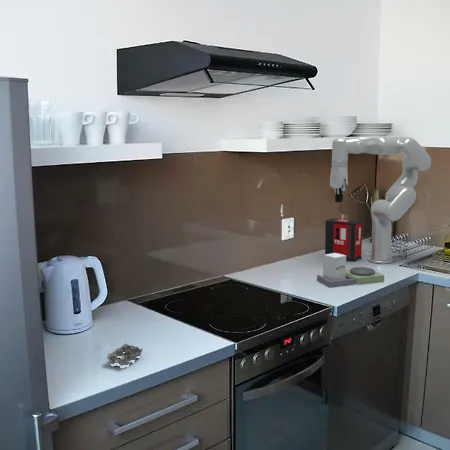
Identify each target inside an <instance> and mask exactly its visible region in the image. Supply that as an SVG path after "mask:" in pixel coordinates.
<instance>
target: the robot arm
mask: <svg viewBox="0 0 450 450" xmlns="http://www.w3.org/2000/svg"><path fill="white" fill-rule="evenodd" d="M331 147H332V148H331V169H330V177H329V186H330V187H331V188H332V189H333V190H334V202H335V203H342V202H343V199H344V198H343V197H344V195H343V194H344V192H346V191H347V188H348V183H349V179H348V176H349V175H348V163H349V161H348V160H349V154H352V155H353V154H354V155H359V154H363V153H364V154H370V155H403V157H402V162H401V163H402V164H401V165H402V173H401V174H400V176H399V177H398V179H397V180H396V181H395V182H394V183H393V184H392V185H391V187H390V188H388V190H387V192H386V198H387V199H388V200H386V199H378V200H375V201H374V202H373V204H371V208H370V215H371V223H372V225H371V227H372V229H371V256H368V258H367V260H368V262H371V263H374V264H392V263H394V257H399V252H393V251H391V250H392V249H391V248H392V231H393V230H392V227H393V226H392V222H396V221H398V220H400V219H401V217H403V216H404V215H405V214H406V212H407V211H408V210H409V209H410V208H411V207H412V205H413V204H414V202H415V201H416V198H417V192H416V190H415V189H414V187H415V186H416V185H417V183H418V178H419V177H418V176H419V172H418V171H420V172H421V171H422V172H424V171H427V170H429V169H430V167H431V165H432V159H431V156H430V155H429V153H428V152H427V151H426V150H425V148H423V147H422V145H421V144H420V143H419V142H418V141H417V140H416V139H414V138H412V137H405V136H403V137H402V136H394V137H393V136H375V137H345V138H334V139H333V140H332V145H331Z"/></svg>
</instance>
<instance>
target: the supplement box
mask: <svg viewBox="0 0 450 450" xmlns="http://www.w3.org/2000/svg"><path fill="white" fill-rule="evenodd" d="M322 262H323V263H322V277H324V278H326V279H328V280H330V281H336V280H345V276H346V270H347V269H346V268H347V261H346V255H342V254H338V253H331V254H326V255H325V254H323V260H322Z"/></svg>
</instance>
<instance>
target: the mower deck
mask: <svg viewBox="0 0 450 450" xmlns="http://www.w3.org/2000/svg"><path fill="white" fill-rule="evenodd" d="M316 281H318V282H319V283H321V284H323V285H324V286H327V287H328V288H338V287H345V286H353V285H354V284H359V285H366V284H367V283H368V284H376V283H384V282H385V275H384V274H382V273H380V272H377V271H376V270H375V269H373V268H371V267H365V266H364V267H363V266H358V267H357V266H355V267H351V268H350V269H346V276H345V280H336V281H330V280H328V279H326V278H324V277H323V275H320V274H317V275H316Z"/></svg>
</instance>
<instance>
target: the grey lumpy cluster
mask: <svg viewBox="0 0 450 450" xmlns="http://www.w3.org/2000/svg"><path fill="white" fill-rule="evenodd" d="M143 350H144V348H140V347H138V346H135V345H132V344H131V345H129V344H128V343H124V344H122V345H121V347H119V348H116V349H115V350H113V351H112V352H109V353H108V354H107V356H106V360H108V363H109V362H110V364H114V363H119V364H120V365H121V366H122V365H128V364H130V362H129V361H131V360H135V359H136V357H137V356H141V357H142V353H143ZM123 352H125V353H124V354H125V355H123ZM122 355H123V358H121V359H117V356H122ZM116 359H117V360H116ZM136 360H137V359H136ZM136 360H135V361H136ZM130 365H131V364H130Z"/></svg>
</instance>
